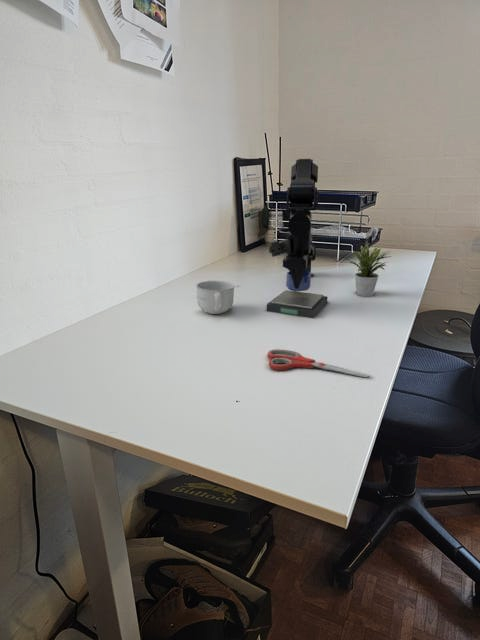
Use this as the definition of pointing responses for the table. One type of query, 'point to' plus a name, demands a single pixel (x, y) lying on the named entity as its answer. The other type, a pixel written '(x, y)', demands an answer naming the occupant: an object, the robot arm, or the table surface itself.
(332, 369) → the scissors
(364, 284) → the house plant
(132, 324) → the table surface
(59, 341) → the table surface
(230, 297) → the teacup
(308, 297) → the scale pan
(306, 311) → the scale
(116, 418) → the table surface
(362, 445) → the table surface
